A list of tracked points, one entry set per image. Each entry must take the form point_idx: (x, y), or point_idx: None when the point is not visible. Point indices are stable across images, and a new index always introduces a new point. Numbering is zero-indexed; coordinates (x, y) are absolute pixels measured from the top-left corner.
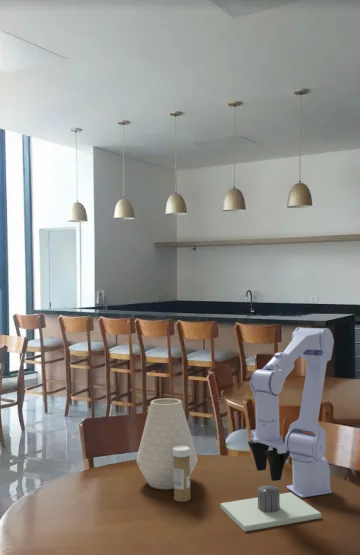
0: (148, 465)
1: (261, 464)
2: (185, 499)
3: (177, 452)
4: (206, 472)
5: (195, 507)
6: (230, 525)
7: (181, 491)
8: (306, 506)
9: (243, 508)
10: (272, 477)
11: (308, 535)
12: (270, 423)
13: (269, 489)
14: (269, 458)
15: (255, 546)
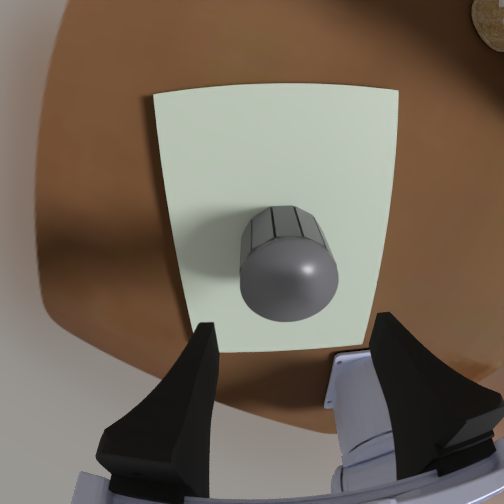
0: None
1: (382, 351)
2: (475, 15)
3: None
4: None
5: (424, 16)
6: (226, 59)
7: (494, 2)
8: (251, 342)
9: (317, 152)
10: (193, 333)
11: (104, 271)
12: None
13: (287, 289)
14: (137, 422)
15: (61, 103)
